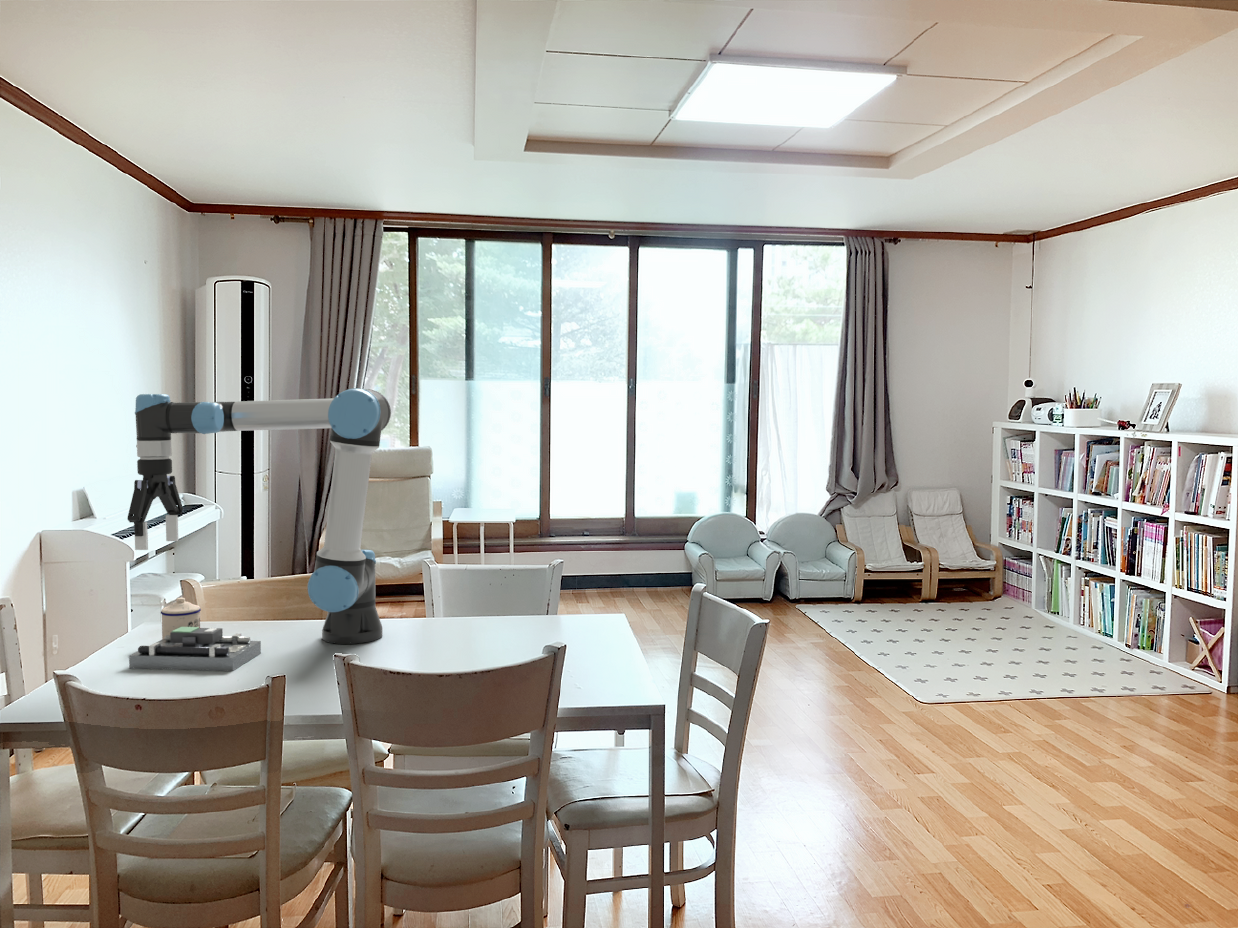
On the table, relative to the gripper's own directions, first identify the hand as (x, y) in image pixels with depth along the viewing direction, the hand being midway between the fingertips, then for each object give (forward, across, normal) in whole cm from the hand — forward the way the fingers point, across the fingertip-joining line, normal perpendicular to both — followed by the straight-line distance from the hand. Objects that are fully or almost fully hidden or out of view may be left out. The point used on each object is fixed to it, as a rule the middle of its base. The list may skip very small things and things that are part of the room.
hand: (157, 545), depth 227 cm
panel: (+26, +8, +13) cm, 30 cm away
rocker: (+21, +8, +13) cm, 26 cm away
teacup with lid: (+26, -7, +2) cm, 27 cm away
